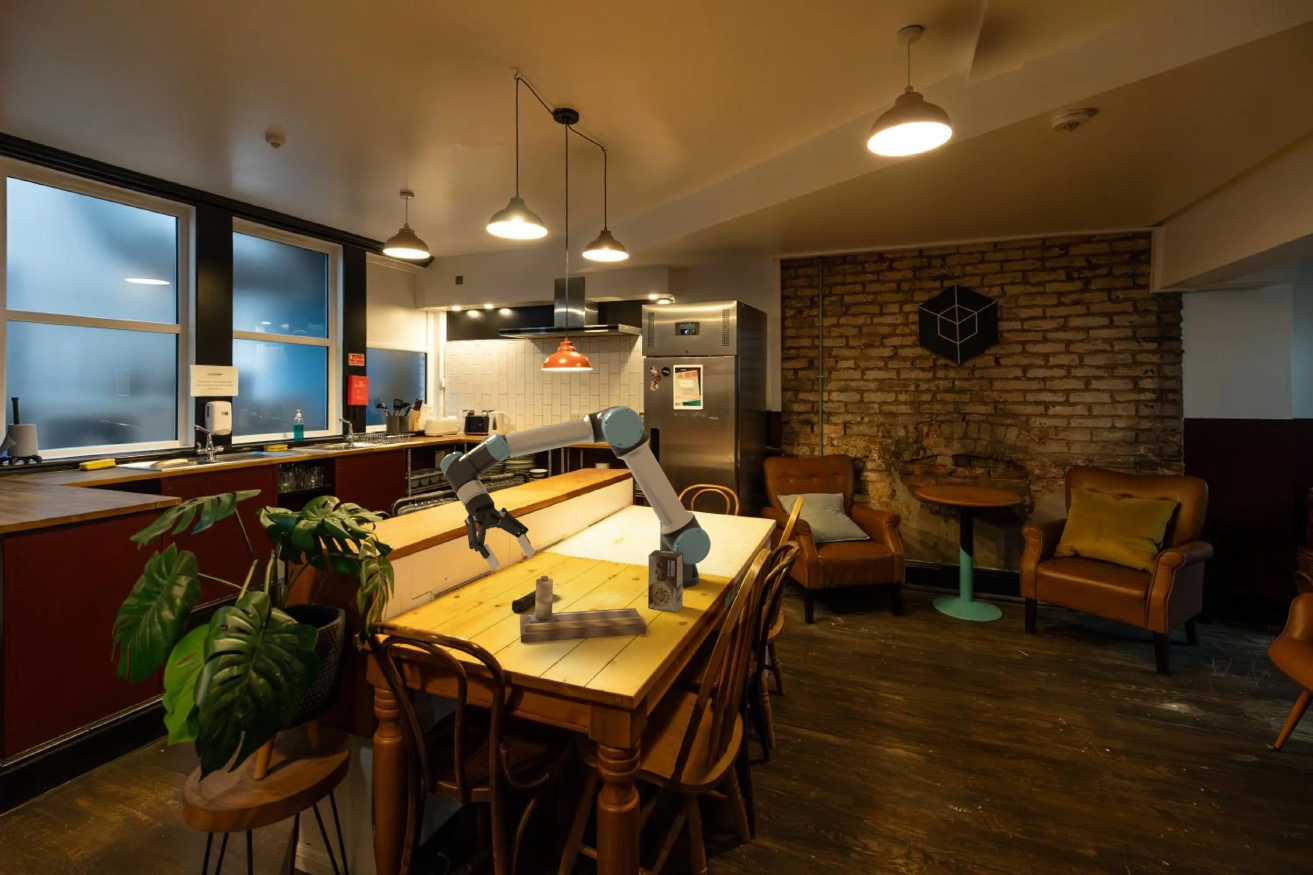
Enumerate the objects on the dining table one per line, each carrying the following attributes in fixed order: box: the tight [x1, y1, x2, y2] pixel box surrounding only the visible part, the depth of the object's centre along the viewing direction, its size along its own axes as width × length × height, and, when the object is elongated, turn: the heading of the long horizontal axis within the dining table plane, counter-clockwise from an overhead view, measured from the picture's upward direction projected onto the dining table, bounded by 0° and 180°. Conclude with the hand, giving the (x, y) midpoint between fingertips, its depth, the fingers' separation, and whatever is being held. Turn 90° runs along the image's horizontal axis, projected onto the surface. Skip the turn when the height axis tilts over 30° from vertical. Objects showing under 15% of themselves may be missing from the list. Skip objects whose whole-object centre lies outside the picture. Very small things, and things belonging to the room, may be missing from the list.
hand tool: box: [511, 589, 536, 614], centre depth 183 cm, size 19×4×5 cm, turn 157°
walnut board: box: [519, 607, 647, 643], centre depth 165 cm, size 32×14×4 cm, turn 103°
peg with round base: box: [530, 575, 557, 624], centre depth 163 cm, size 7×7×12 cm
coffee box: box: [647, 549, 684, 613], centre depth 182 cm, size 9×6×16 cm
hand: (514, 561), depth 168 cm, fingers open, 13 cm apart
